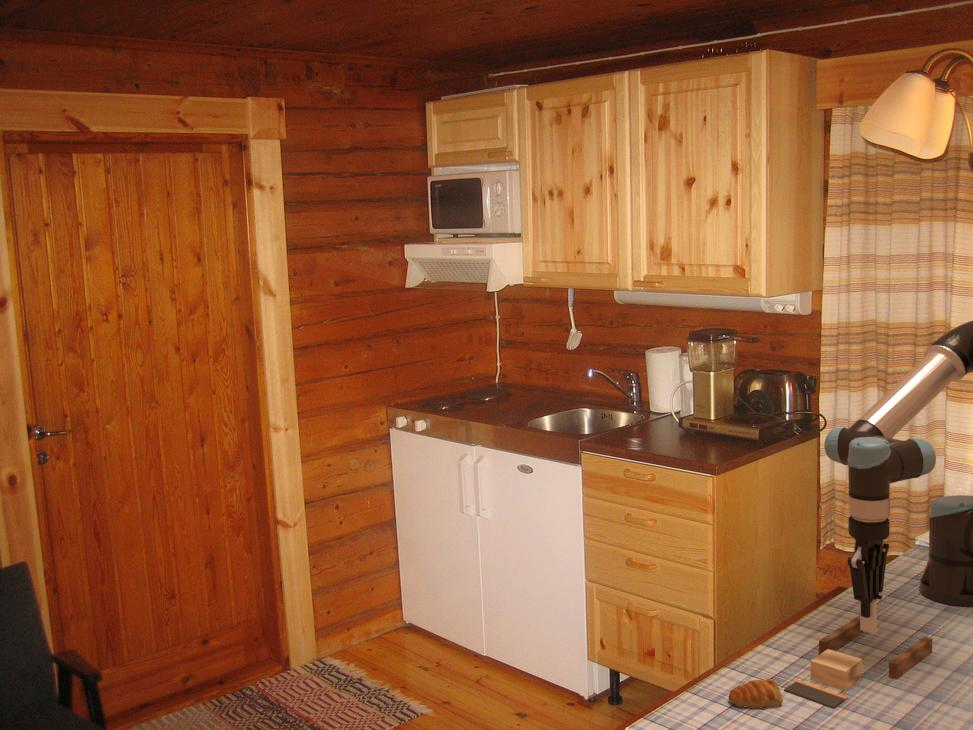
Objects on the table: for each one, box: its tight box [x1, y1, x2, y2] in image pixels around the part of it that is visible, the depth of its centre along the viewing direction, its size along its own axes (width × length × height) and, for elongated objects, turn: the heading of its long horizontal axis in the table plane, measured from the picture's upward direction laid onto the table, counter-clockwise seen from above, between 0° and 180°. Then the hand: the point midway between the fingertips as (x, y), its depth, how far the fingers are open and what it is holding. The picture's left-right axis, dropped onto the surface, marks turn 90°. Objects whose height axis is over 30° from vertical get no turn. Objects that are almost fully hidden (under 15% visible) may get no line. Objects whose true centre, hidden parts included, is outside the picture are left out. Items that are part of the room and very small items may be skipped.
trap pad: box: [783, 679, 848, 709], centre depth 181 cm, size 5×10×1 cm, turn 43°
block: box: [810, 649, 863, 691], centre depth 187 cm, size 7×7×4 cm
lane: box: [818, 616, 933, 680], centre depth 197 cm, size 16×16×3 cm
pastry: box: [728, 677, 784, 709], centre depth 179 cm, size 9×7×4 cm
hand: (868, 630), depth 194 cm, fingers closed
